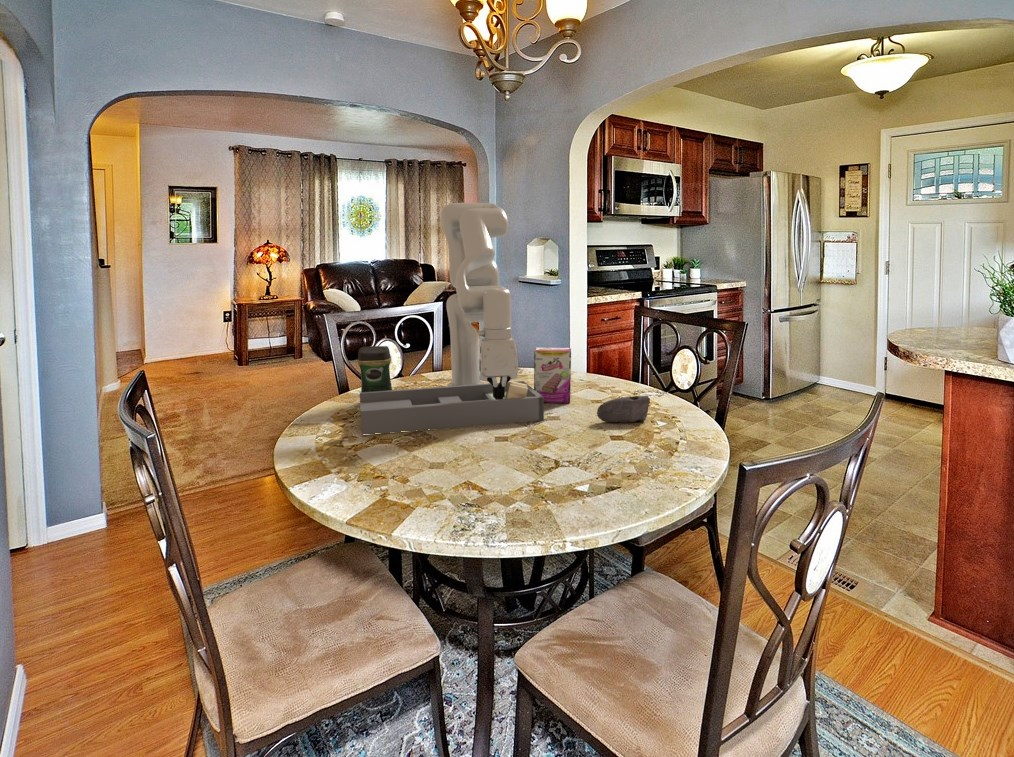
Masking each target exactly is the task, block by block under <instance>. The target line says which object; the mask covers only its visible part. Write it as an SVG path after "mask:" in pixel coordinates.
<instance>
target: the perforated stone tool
mask: <svg viewBox="0 0 1014 757" xmlns="http://www.w3.org/2000/svg"><path fill="white" fill-rule="evenodd" d="M650 403H651V398H650V397H649V396H648V395H636V396H635V395H634V396H624V397H617V398H614V399H611V400H607V401H605V402H602V403H601V404H600V405H599V406H598V407H597V411H596V415H597V417H598V419H600V420H601V421H602V422H605V423H612V424H613V423H618V422H619V423H620V424H621V423H622V424H625V423H626V424H627V423H628V424H630V423H635V422H637V421H638V422H643V421H646V418H647V417H648V412H649V407H650ZM629 422H630V423H629ZM619 423H618V424H619Z"/></svg>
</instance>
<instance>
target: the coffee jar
mask: <svg viewBox="0 0 1014 757" xmlns="http://www.w3.org/2000/svg"><path fill="white" fill-rule="evenodd" d="M391 356H392V355H391V351H390V348H389V346H388V345H372V346H362V347H360V348H358V352H357V364H358V366H359V369H360V378H361V382H360V383H361V392H374V391H388V390H393V388H392V386H393V385H392V381H391V375H390V374H391V373H390V372H391V371H390V365H391V362H392V357H391Z"/></svg>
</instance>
